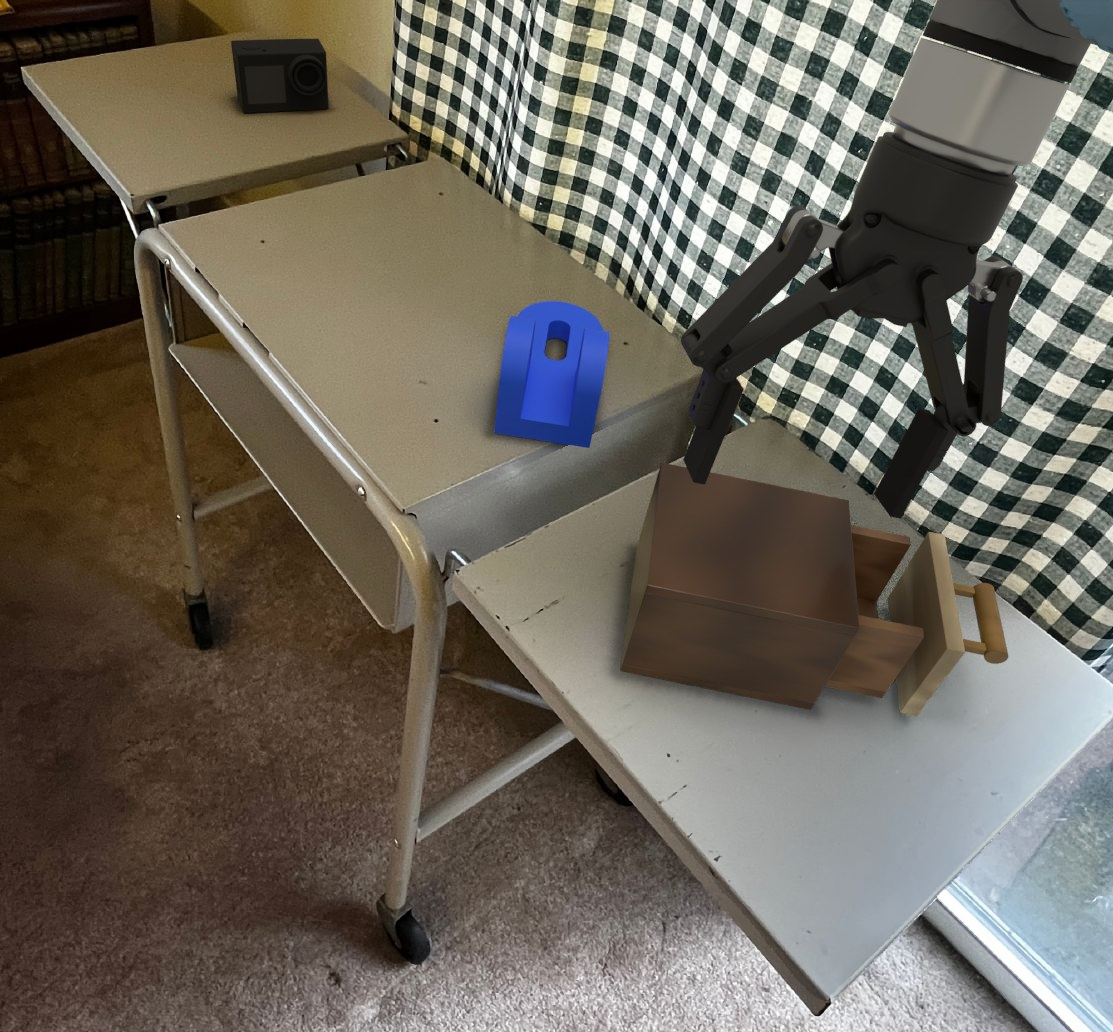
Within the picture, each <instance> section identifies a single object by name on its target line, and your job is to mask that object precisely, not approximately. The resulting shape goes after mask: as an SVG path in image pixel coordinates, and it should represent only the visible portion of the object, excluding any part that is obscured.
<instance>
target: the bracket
mask: <svg viewBox="0 0 1113 1032" xmlns="http://www.w3.org/2000/svg"><path fill="white" fill-rule="evenodd" d="M551 339H559V340H562V341H564V342H565V343H566V345H567V346H566V347H567V348H566V355H565V357H564V358H563V359H559V360H555V359H551V358H549V357H547V355H546V353H545V352H546V347H547V346H546V345H547V342H548V341H549V340H551ZM609 344H610V331H608V330H604V328H603V326H602V324H601V322H600V320H599V319H598V318H597V316H596V315H594V314H593V313H592V312H590V311H589V310H587V309H586V308H584V307H581V306H579V305H577V304H573V303H569V302H564V301H557V300H549V301H547V300H546V301H540V302H535V303H532V304H530V305H528V306H526V307H524V308H523V309H522V310H521V311H520V312H519V313H518V314H517V315H510V316H509V319H508V325H507V329H506V334H505V341H504V346H503V352H502V360H501V366H500V373H499V374H500V375H499V383H498V393H497V403H496V411H495V419H494V421H495V422H494V430H493V433H494V434H498V435H505V436H511V437H517V438H522V439H523V438H524V439H529V440H534V441H535V440H536V441H542V442H549V443H555V444H561V445H566V446H574V447H580V448H586V449H590V448H591V443H592V438H593V435H594V433H593V432H594V428H595V423H596V418H597V414H598V409H599V405H600V400H601V395H602V389H603V384H604V379H605V372H606V367H607V366H606V365H607V359H608V352H609Z"/></svg>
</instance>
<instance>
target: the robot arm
mask: <svg viewBox="0 0 1113 1032" xmlns="http://www.w3.org/2000/svg"><path fill="white" fill-rule="evenodd" d="M924 37H926V38H924ZM927 38H929V39H927ZM931 39H932V40H931ZM943 43H944V44H943ZM1091 45H1093V46H1097V47H1098V49H1100V50H1101V51H1104V52H1105V53H1106V52H1107V53H1108V54H1111V55H1113V0H936V1H935V3H934V6H933V9H932V11H931V14H930V16H929V18H928V22H927V23H926V26H925V29H924V30H923V32H922V37H920V38H919V42H918V43H917V46H916V49H915V50H914V53H913V55H912V58H911V60H910V62H909V65H908V66H907V70H906V72H905V74H904V76H903V79H902V80H901V83H900V85H899V89H898V91H897V93H896V95H895V98H894V100H893V102H892V105H891V106H890V109H889V111H888V116H889V118H890V121H891V122H892V123H893V124H895V127H894V130H893V131H886V132H883V134H882V135H880V136H878V137H877V138H876V142H875V143H874V145H873V148H872V151H871V152H870V155H869V157H868V160H867V162H866V165H865V167H864V169H863V172H862V173H861V176H860V179H859V180H858V183H857V186H856V188H855V190H854V194H853V197H852V202H851V205H850V208H849V211H848V212H847V213H846V215H845V216H844V218H843V219H842V220H841V221H840V222H839V223H837V224H834V223H831V222H829V221H826V220H824V219H821V218H818V217H816V216H814V215H813V214H812V213H811V212H810V211H809V210H808V209H807V208H805V207H803V206H801V205H796V206H795V205H794V206H793V207H791V208H790V209H789V210H788V211H787V213H786V214H785V217H784V219H783V220H782V223H781V224H780V227H779V228H778V231H777V233H776V234H775V236H774V238H773V240H772V242H771V243H770V244H769V245H768V246H767V247H766V248H765V249H764V250H763V251H762V252H761V253H760V254H759V255H758V256H757V257H756V258H755V259H754V260H753V261H752V263H750V264H749V266H748V267H746V269H745V270H744V271H742V273H740V275H739V276H738V277H737V278H736V279H735V280H734V281H733V282H732V283H731V284H730V285H729V286H728V287H727V288H726V289H725V290H724V291H723V293H721V294H720V295H719V297H717V299H715V300H714V302H712V304H711V305H710V306H709V307H708V308H706V310H705V311H704V312H703V313H702V314H701V315H699V317H698V318H697V319H696V320H695V321H694V322H693V323H692V324H691V325H690V327H688V328H687V329H686V331H684V332H683V334H682V335H681V338H680V344H681V346H682V348H683V350H684V351H685V354H686V355H687V357H688V359H689V360H690V362H691V364H692V365H693V366H695V367H699V368H702V373H701V375H700V378H699V380H698V383H697V386H696V387H695V390H694V393H693V396H692V399H691V401H690V404H689V407H688V411H689V413H688V414H689V417H690V419H691V421H692V423H693V425H694V431H693V433H692V436H691V438H690V441H689V444H688V447H687V449H686V451H685V454H684V457H683V463H684V465H685V467H687V469H688V471H689V474H690V476H691V478H692V480H693V482H694V483H699V484H705V483H706V481H707V478H708V476H709V473H710V472H712V468H713V466H714V464H715V462H716V459H717V456H718V454H719V451H720V449H721V446H722V444H723V442H724V440H725V437H726V434H727V432H728V429H729V427H730V424H731V423H732V421H733V417H734V415H735V412H736V410H737V407H738V406H739V402H740V400H741V398H742V395H743V393H744V390H745V388H744V387H743V385H742V384H741V382H740V380H739V379H738V377H740V376H742V375H743V374H745V373H746V372H748V371H749V370H751V369H752V368H754V367H756V366H757V365H759V364H761V363H762V362H763V361H765V360H767V359H768V358H769V357H771V356H772V355H774V354H776V353H777V352H778V351H780V350H782V349H783V348H785V347H787V346H788V345H789V344H791V343H793V342H794V341H796V340H797V339H799V338H800V337H802V336H804V335H805V334H806V333H808V332H810V331H811V330H813V329H814V328H816V327H818V326H819V325H820V324H822V323H823V322H825V321H827V320H835V319H838V318H840V317H842V316H843V315H845V314H846V313H848V312H850V311H852V312H853V313H854V314H855V315H856V316H857V317H860V318H864V319H868V320H876V319H877V320H879V319H884V320H886V321H887V322H889V323H890V324H892V325H895V326H899V327H904V328H907V326H908V325H909V324H911V326H912V329H913V333H914V337H915V341H916V344H917V349H918V352H919V357H920V360H921V364H922V368H923V372H924V375H925V376H924V377H925V379H926V384H927V386H928V392H929V395H930V399H931V403H932V407H933V409H934V412H933V413H932V411H931V410H929V409H925V408H922V407H918V409H917V411H916V413H914V416H913V418H912V420H911V422H910V424H909V426H908V428H907V430H906V432H905V433H904V435H903V437H902V439H901V441H900V443H899V444H898V447H897V449H896V451H895V452H894V454H893V456H892V458H891V460H890V462H889V463H888V466H887V467H886V470H885V472H884V474H883V476H882V477H881V480H880V481H879V483H878V485H877V487H876V489H875V490H874V493H873V496H874V497H875V498H876V499H877V501H878V502H879V504H880V505H881V506H882V507H883V509H884V510H885V511H886V512H887V514H888V515H889V517H890V518H895V519H902V517H903V516H904V513H905V512H906V510H907V508H908V506H909V505H910V503H911V501H912V499H913V497H914V495H915V493H916V492H917V490H918V488H919V487H920V484H921V483H922V480H923V479H924V477H925V475H926V473H927V472H928V471H930V472H935V471H936V469H938V468H939V467H940V466H941V464H942V462H943V460H944V458H945V456H946V455H947V453H948V452H949V450H950V448H951V446H952V444H953V443H954V440H955V439H956V437H957V435H958V436H960V437H968V436H970V435H971V434H973V433H975V431H976V429H977V424H982V425H983V426H985V427H992V426H994V425H995V424H997V423H998V422H999V421H1000V419H1001V417H1002V408H1003V406H1002V405H1003V394H1004V383H1005V373H1006V371H1005V370H1006V360H1007V359H1006V358H1007V347H1008V336H1009V325H1010V323H1009V322H1010V311H1011V309H1012V306H1013V304H1014V302H1015V299H1016V297H1017V294H1018V293H1019V290H1020V288H1021V285H1022V283H1023V279H1024V276H1023V274H1022V272H1021V271H1019V270H1018V269H1017V268H1015V267H1013V266H1012V265H1010V264H1009V263H1007V262H1006V261H1005V260H1003V259H1002V258H1000V257H998V256H996V255H992V256H989V257H987V258H986V259H985V260H978V259H977V258H978V254H979V251H980V249H981V247H982V246H983V245H985V244H987V243H988V242H989V241H991V239H992V237H993V236H994V234H995V232H996V230H997V228H998V226H999V224H1000V222H1001V221H1002V218H1003V217H1004V214H1005V212H1006V211H1007V208H1008V207H1009V205H1010V203H1011V201H1012V199H1013V197H1014V195H1015V194H1016V191H1017V189H1018V187H1019V184H1018V183H1017V180H1018V178H1017V176H1016V175H1015V174H1014V173H1013V171H1014V170H1015V168H1016V166H1018V167H1024V166H1026V165H1029V164H1031V163H1032V162H1033V160H1034V158H1035V156H1036V154H1037V152H1038V150H1039V147H1040V146H1041V143H1042V142H1043V139H1044V138H1045V136H1046V134H1047V132H1048V130H1049V127H1050V126H1051V124H1052V121H1053V120H1054V118H1055V115H1056V113H1057V111H1058V110H1059V108H1060V106H1061V103H1062V101H1063V100H1064V97H1065V95H1066V94H1067V92H1068V89H1069V87H1070V85H1069V84H1071V83H1072V82H1073V80H1074V78H1075V76H1076V75H1077V73H1078V69H1079V67H1080V65H1081V63H1082V62H1083V59H1084V57H1085V55H1086V54H1087V51H1088V50H1089V49H1090V46H1091ZM1055 79H1056V80H1055ZM1058 80H1059V81H1058ZM1061 81H1062V82H1061ZM1065 82H1066V83H1065ZM1067 83H1068V84H1067ZM826 249H828V251H829V258H830V262H831V263H829V264H828V265H826V266H824V267H823V268H822V269H820V270H818V271H817V272H815V273H814V274H813V275H811V276H810V277H808V278H807V279H806V280H805V281H804V284H803V286H802V287H800V288H799V289H798V290H796V291H794V292H793V293H792V294H790V295H789V296H787V297H785V298H784V299H782V300H781V301H779V302H777V303H776V304H775V305H773V306H772V307H770V308H769V309H768V310H765V311H764V312H763V313H761V311H762V310H763V309H765V307H766V306H767V305H768V304H769V303H770V302H771V301H772V300H773V299H774V298H775V297H776V296H777V295H778V294H779V293H780V292H781V291H782V290H783V289H784V288H785V287H787V286H788V285H789V283H790V282H792V280H793V279H795V278H796V276H797V275H798V274H799V273H800V271H801V270H802V269H803V267H804V266H805V265H806V264H807V262H808V261H811V260H815V259H817V258H818V257H820V255H821V252H823V251H824V250H826ZM966 287H967V288H966ZM964 288H966V289H967V293H968V294H969V299H968V304H967V305H968V306H967V318H966V319H967V321H966V322H967V323H966V338H965V339H966V340H965V355H964V356H965V358H964V373H963V374H964V375H963V380H962V375H961V372H960V371H961V370H960V366H959V363H958V357H957V353H956V348H955V345H954V340H953V337H952V333H954V326H953V322H952V318H951V314H950V309H949V304H948V300H950V299H951V298H953V297H954V296H955V295H957V294H958V293H960V292H961V291H962V290H964ZM834 289H836V290H834ZM833 290H834V291H833ZM759 313H761V314H759ZM758 314H759V315H758ZM757 315H758V316H757Z"/></svg>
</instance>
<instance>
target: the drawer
mask: <svg viewBox="0 0 1113 1032" xmlns="http://www.w3.org/2000/svg"><path fill="white" fill-rule="evenodd" d="M851 532H852V544H853V556H854V568H855V580H856V593H857V605H858V617H859V630H858V632H857V634H856V635H855V637H854V639H853V640H852V642H851V644H850V645H849V647H848V649H847V650H846V652H845V654H844V655H843V657H842V659H841V660H840V662H839V663H838V665H837V667H836V668H835V670H834V672H833V673H832V675H831V677H830V678H829V680H828V682H827V683H826V685H825V687H824V688H830V689H835V690H840V691H845V692H849V693H854V694H858V695H859V694H860V695H864V696H869V697H873V698H878V699H883V697H884V696H885V694H886V693H887V691H888V690H890V687H891V686H892V684H893V683H894V682H895V680H896V689H897V690H896V691H897V699H898V700H897V701H898V708H899V713H900V714H903V715H907V716H913V717H917V716H918V715H919V714H920V713H921V711H922V710H923V708H925V706H926V705H927V703H928V702H929V700H930V699H931V698H932V697H933V695H934V694H935V693H936V691H937V690H938V689H939V687H940V686H941V685H942V684H943V682H944V681H945V680H946V678H947V677H948V675H950V673H951V672H952V671H953V669H954V668H955V667H956V665H957V664H958V663H959V661H960V660H961V659H962V657H963V656H964V655H965V653H970V654H976V655H981V656H983V660H984V661H986V663H988V664H991V665H992V664H993V665H999V664H1003V663H1005V662H1006V661H1008V659H1009V652H1008V647H1007V642H1006V637H1005V632H1004V628H1003V623H1002V618H1001V614H1000V609H999V605H998V601H997V600H998V599H997V596H996V590H995V586H993V584H991V583H988V582H980V583H976V584H975V585H974V586H969V585H966V584H965V585H964V584H960V583H955V582H954V581H953V580H954V579H953V576H952V568H951V563H950V558H949V552H948V546H947V540H946V535H945V534H943V533H937V532H933V531H927V533H926V535H925V537H924V538H923V539H922V542H921V543H920V545H919V546H918V548H917V549H916V551H915V553H914V554H913V556H912V557H911V560H910V561H909V563H908V564H907V565H906V567H905V569H904V570H903V573H902V574H901V576H900V577H899V579H898V581H897V582H896V584H895V585H894V587H893V589H892V590H891V592H890V594H889V595H888V596H887V599H886V600H887V601H886V602H887V610H888V618H889V620H885V619H880V618H879V612H878V610H879V609H878V600H879V599H880V596H881V595H882V594H883V592H884V591H885V589H886V587H887V585H888V584H889V582H890V580H891V579H892V577H893V575H894V574H895V573H896V571H897V569H898V567H899V565H900V563H902V561H903V559H904V557H905V555H906V554H907V552H908V551H909V549H910V547H911V545H912V544H911V543H912V542H911V537H910V536H907V535H903V534H898V533H893V532H888V531H883V530H878V529H874V528H868V527H863V526H858V525H854V524H851ZM957 596H960V597H965V598H968V599H972V602H973V607H974V613H975V617H976V622H977V629H978V634H979V637H980V638H979V639H980V642H979V641H975V640H971V639H970V640H969V639H965V638H964V637H963V631H962V625H961V620H960V615H959V608H958V604H957V603H958V602H957V598H956V597H957Z"/></svg>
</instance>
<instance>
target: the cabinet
mask: <svg viewBox="0 0 1113 1032" xmlns="http://www.w3.org/2000/svg"><path fill="white" fill-rule="evenodd" d="M850 511H851V508H850V500H849V499H845V498H839V497H834V496H830V495H825V494H819V493H815V492H810V491H805V490H800V489H795V488H790V487H785V486H780V485H776V484H770V483H765V482H760V481H755V480H752V479H751V480H750V479H746V478H741V477H736V476H732V475H725V474H721V473H717V472H712V471H710V473H709V476H708V478H707V481H706V483H705V484H699V483H694V482H693V480H692V478H691V476H690V474H689V471H688V469H687V467H686V466H681V465H677V464H671V463H667V462H661V463H660V465H659V470H658V472H657V476H656V480H655V483H654V487H653V489H652V494H651V497H650V500H649V504H648V507H647V510H646V514H645V517H644V521H643V525H642V527H641V531H640V535H639V539H638V542H637V545H636V548H635V555H634V563H633V571H632V579H631V587H630V593H629V599H628V600H629V601H628V609H627V617H626V624H625V631H624V639H623V646H622V655H621V663H620V671H621V672H625V673H630V674H635V675H639V676H645V677H649V678H655V679H658V680H659V679H660V680H665V681H669V682H673V683H679V684H683V685H687V686H694V687H698V688H703V689H707V690H708V689H709V690H713V691H718V692H722V693H726V694H727V693H728V694H733V695H736V696H741V697H747V698H751V699H757V700H761V701H767V702H772V703H777V704H781V705H785V706H791V707H795V708H800V709H805V710H809V711H811V710H812V708H813V707H814V705H815V703H816V702H817V700H818V698H819V696H820V695H821V693H822V692H823V690H824V689H825V688H826V687H825V685H826V683H827V682H828V680H829V678H830V677H831V675H832V673H833V672H834V670H835V668H836V667H837V665H838V663H839V662H840V660H841V659H842V657H843V655H844V654H845V652H846V650H847V649H848V647H849V645H850V644H851V642H852V640H853V639H854V637H855V635H856V634H857V632H858V630H859V617H858V605H857V593H856V580H855V568H854V556H853V544H852V532H851V525H852V520H851V512H850Z"/></svg>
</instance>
